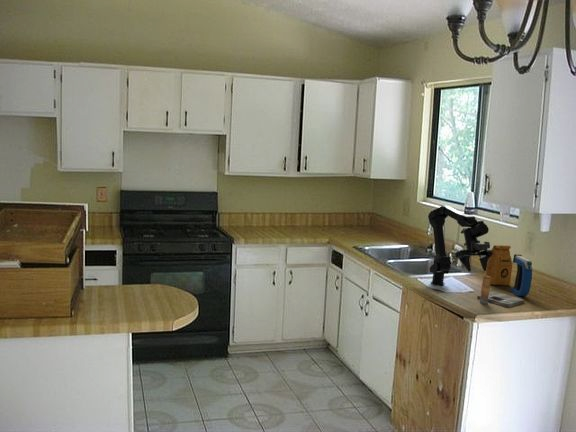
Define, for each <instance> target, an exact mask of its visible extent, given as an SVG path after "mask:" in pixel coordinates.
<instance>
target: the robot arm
mask: <svg viewBox="0 0 576 432" xmlns="http://www.w3.org/2000/svg"><path fill="white" fill-rule="evenodd" d="M427 217H428V222H429V224H430V226H431V228H432V229H433V230H432V231H433V239H434V248H435V249H434V250H435V256H434V259H433V264H432V265H430V267H429V272H430V273H431V274H432V280H431V282H430V285H434V286H440V287H443V286H445V282H444V280H445V274H448V275H449V273H450V270H451V268H452V267H451V266H452V262H451V257H450V256H448V254H447V252H446V245H445V244H446V243H445V236H444V226H445V223H446V219H447V218H448V217H450V218H451V219H453V220H456V223H457V224H458V225H459V226H460V227H461V228H462V230H461V231H460V234H463V237H464V240H465V243H463V245H464V246H465V247H466V249H461V250H458V251H456V252H455V254H454V257H455V259H458V261H460V263H461V264H463V267H465V268H466V270H467V271H468V272H471V271H472V270H471V268H472V267H471V263H470V258H471V257H472V256H473V257H479V263H480V265H481V268H482V270H483V272H486V268H487V262H488V259H489V258H490V257H491V256H492V255H493V252H492V249H490V248H491V244H490V241H484V242H483V243H482V242H481V240H479V239H478V238H480V237H482V236H484V235H487V234H488V233H489V232H490V231H489V230H490V229H489V227H488V225H487V224H486V223H485V221H484V220H477V218H476V216H475V215H471V214H466V213H462V212H461V211H459V210H457V209H455V208H453V207H452V206H450V205H441V206H439V207H437V208H435V209H433V210H431V211H430V212H429V213H428V216H427Z"/></svg>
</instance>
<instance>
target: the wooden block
mask: <svg viewBox="0 0 576 432" xmlns="http://www.w3.org/2000/svg"><path fill="white" fill-rule="evenodd" d="M490 283H491V277H490V276H486V275H483V276H482V283H481V290H480V295H481V297H480V299H479V303H480V304H482V305H488V303H489V302H488V297H489V293H490V288H491V284H490Z"/></svg>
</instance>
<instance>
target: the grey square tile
mask: <svg viewBox="0 0 576 432" xmlns="http://www.w3.org/2000/svg"><path fill="white" fill-rule="evenodd" d="M480 297H481V294H478V295H477V296H476V298H477V300H480ZM488 303H490V304H493V305H494V304H495V305H498V306H501V307H504V308H511V307H515V306H518V305H522V304H524V303H525V299H524V298H520V297H516V296H512V295H509V294H505V293H501V292H498V291H489V297H488Z"/></svg>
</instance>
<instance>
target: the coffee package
mask: <svg viewBox="0 0 576 432" xmlns="http://www.w3.org/2000/svg"><path fill="white" fill-rule="evenodd" d="M510 249H511V245H508V244H507V245H499V244H495V245H493V246H492V248H491V250H492V252H493V255H492V256H491V257H490V258H489V259H488V262H487V268H486V271H485V276H490V277H491V283H490V285H493V286H510V284H511V282H512V281H511V279H512V278H511V277H512V273H513V272H512V270H513V259H512V256H511V252H510V251H511V250H510Z"/></svg>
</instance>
